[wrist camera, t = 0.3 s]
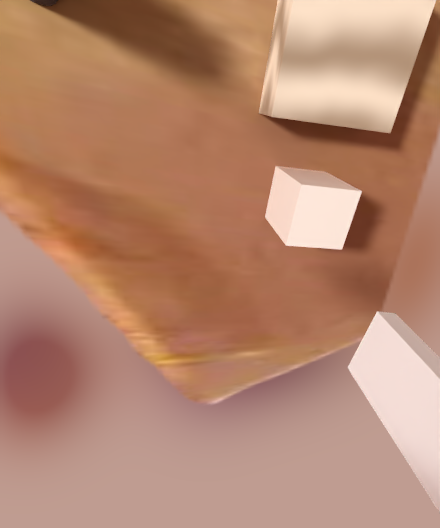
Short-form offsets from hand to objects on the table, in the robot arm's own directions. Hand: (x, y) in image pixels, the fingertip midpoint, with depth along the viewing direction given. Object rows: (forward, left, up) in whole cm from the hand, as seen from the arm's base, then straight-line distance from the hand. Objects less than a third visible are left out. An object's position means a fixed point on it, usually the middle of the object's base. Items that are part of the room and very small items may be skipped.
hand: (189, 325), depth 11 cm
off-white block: (+2, +14, -27) cm, 31 cm away
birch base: (-12, +14, -28) cm, 33 cm away
